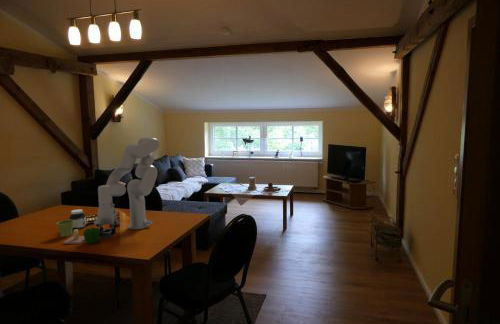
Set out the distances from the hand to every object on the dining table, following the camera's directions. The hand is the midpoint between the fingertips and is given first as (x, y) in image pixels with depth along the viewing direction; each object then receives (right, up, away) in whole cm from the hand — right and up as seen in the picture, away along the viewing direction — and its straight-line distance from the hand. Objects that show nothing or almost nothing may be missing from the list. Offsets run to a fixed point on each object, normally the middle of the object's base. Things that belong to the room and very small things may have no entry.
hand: (107, 234), depth 200 cm
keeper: (-15, -2, -8) cm, 17 cm away
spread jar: (-28, +1, +17) cm, 33 cm away
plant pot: (-26, -1, +1) cm, 26 cm away
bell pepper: (-4, -3, -11) cm, 12 cm away
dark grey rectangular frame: (0, -1, 0) cm, 1 cm away
